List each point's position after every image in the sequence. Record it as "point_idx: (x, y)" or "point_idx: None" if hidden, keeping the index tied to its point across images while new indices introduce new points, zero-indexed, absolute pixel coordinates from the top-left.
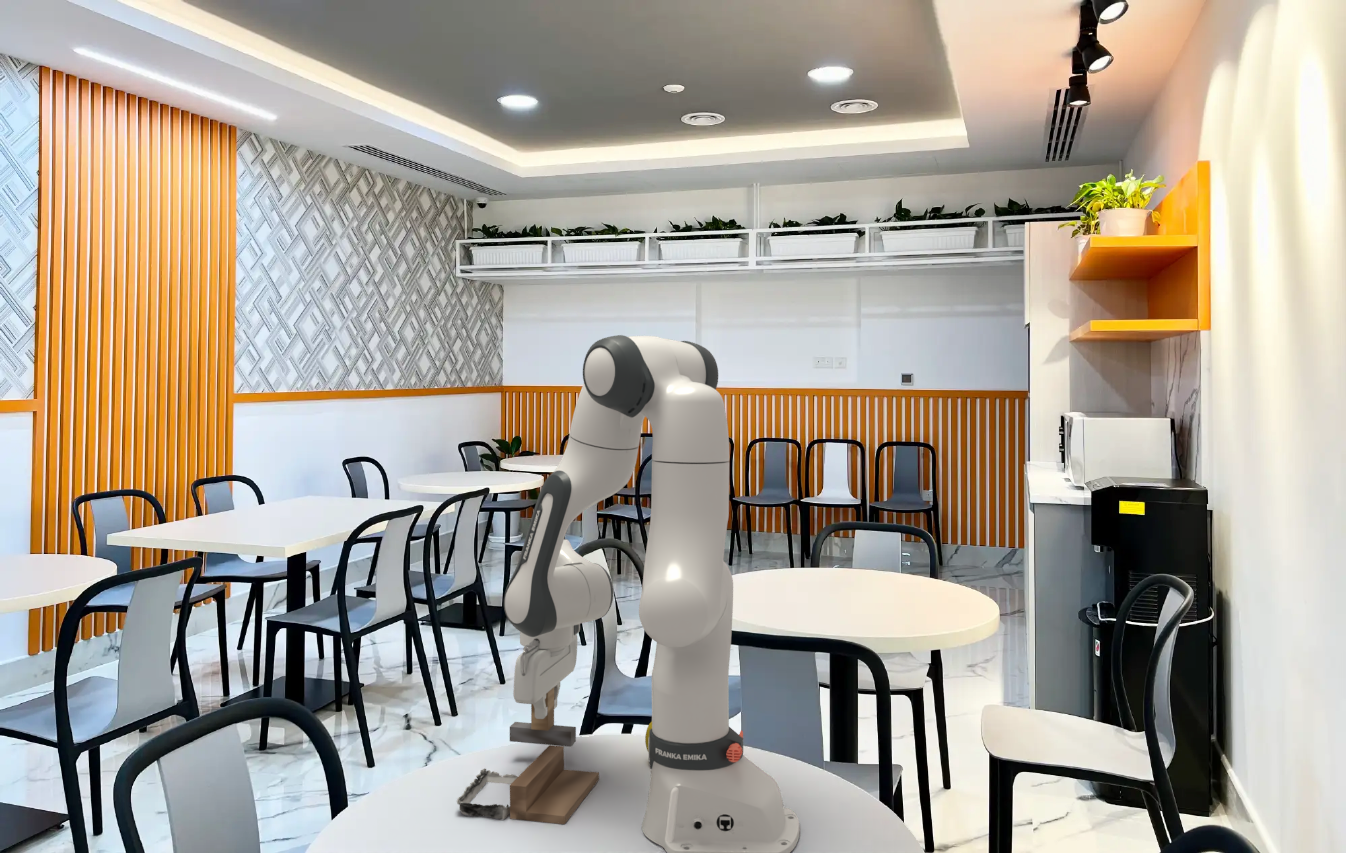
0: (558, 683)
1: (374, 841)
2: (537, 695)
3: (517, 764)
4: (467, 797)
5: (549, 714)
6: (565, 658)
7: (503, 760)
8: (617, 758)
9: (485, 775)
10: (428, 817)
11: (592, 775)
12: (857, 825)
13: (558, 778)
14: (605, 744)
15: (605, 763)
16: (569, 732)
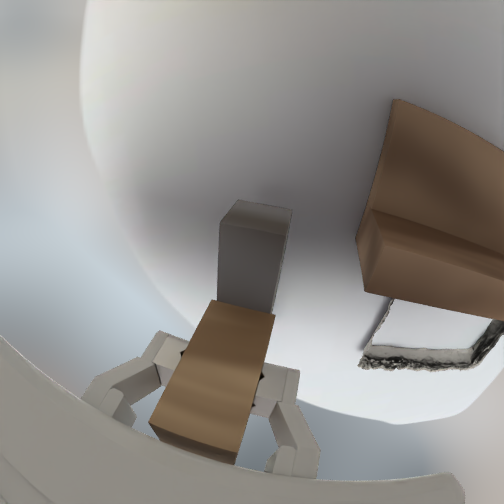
0: (105, 403)
1: (481, 391)
2: (440, 499)
3: (282, 309)
4: (446, 359)
5: (247, 354)
6: (13, 455)
7: None
8: (222, 61)
9: (371, 356)
10: (459, 374)
11: (421, 120)
12: None
13: (429, 219)
14: (133, 124)
15: (264, 88)
16: (284, 241)
